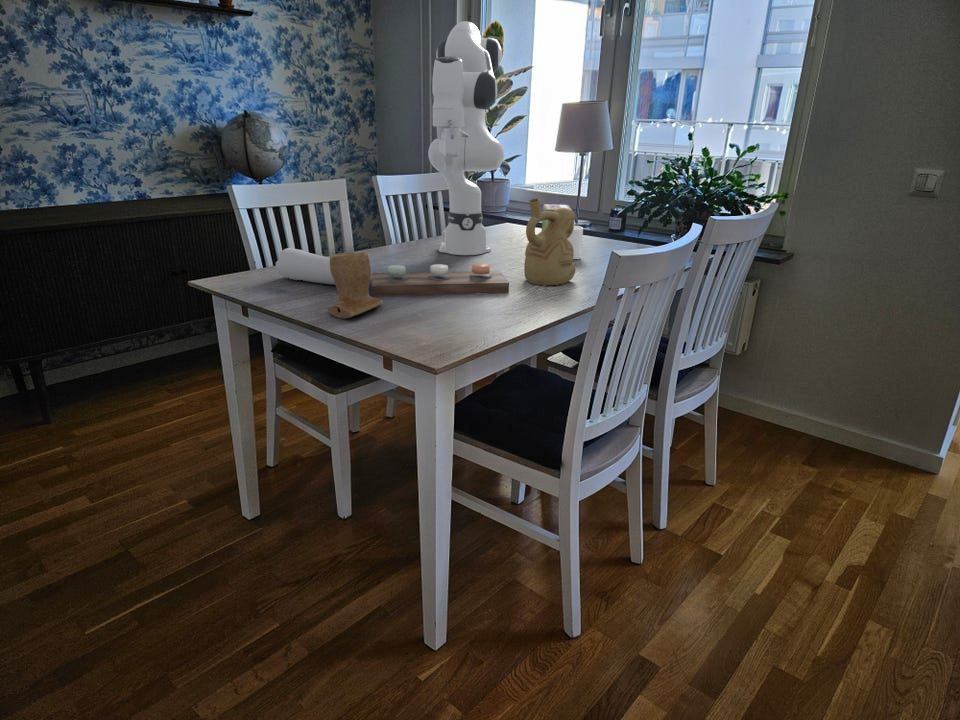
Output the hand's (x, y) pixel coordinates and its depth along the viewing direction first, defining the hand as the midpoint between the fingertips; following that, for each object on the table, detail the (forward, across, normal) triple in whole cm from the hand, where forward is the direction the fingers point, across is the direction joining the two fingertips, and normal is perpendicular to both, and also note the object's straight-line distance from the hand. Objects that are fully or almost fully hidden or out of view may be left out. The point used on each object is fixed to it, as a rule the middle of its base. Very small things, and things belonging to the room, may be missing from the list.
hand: (448, 171), depth 181 cm
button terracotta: (+27, -13, -8) cm, 31 cm away
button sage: (+27, -13, +16) cm, 34 cm away
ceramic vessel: (+31, -8, -29) cm, 43 cm away
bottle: (+31, -6, +37) cm, 49 cm away
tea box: (+31, +44, -46) cm, 71 cm away
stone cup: (+31, -33, +28) cm, 53 cm away
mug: (+31, +21, -44) cm, 58 cm away
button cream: (+27, -13, +4) cm, 30 cm away
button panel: (+31, -13, +4) cm, 34 cm away
